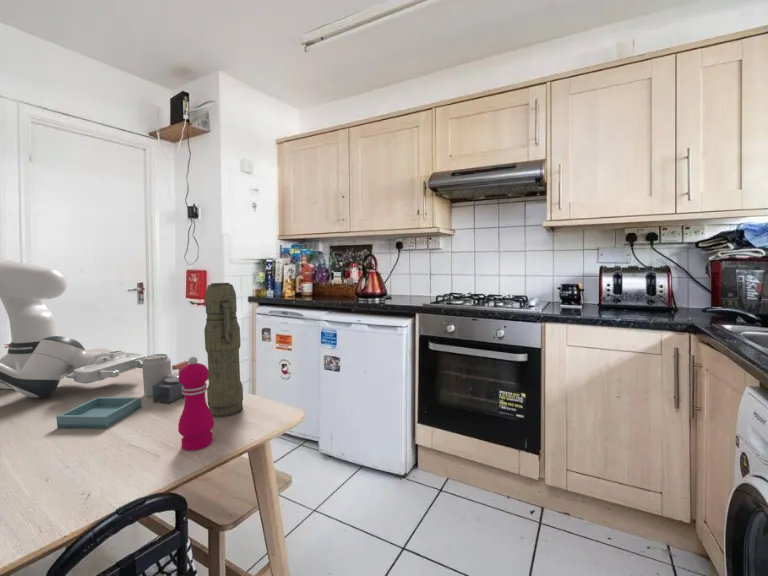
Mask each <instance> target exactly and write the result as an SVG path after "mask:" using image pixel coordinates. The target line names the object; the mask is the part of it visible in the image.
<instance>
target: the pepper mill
mask: <svg viewBox="0 0 768 576" xmlns="http://www.w3.org/2000/svg"><path fill="white" fill-rule="evenodd" d="M188 361H189V364H188V365H186V366H184V367H183V368H182V369H181V370H180V372H179V371H178V373H179V377H178V378H179V382H180V383H181V384H182V385H183V387H182V394H183V395H184V397H185V398H184V405H183V409H182V412H181V414H180V417H179V420H178V424H177V425H178V426H177V428H178V429H177V432H178V434H179V435H180V436H182V438H181V441H180V442H181V448H182V449H183V450H184V451H190V452H193V451H198V450H202V449H204V448H207V447H208V446H210V445H211V444H212V443H213V441H214V440H213V439H214V437H213V432H212V430H213V428H214V426H215V420H214V418H215V417H213V415H212V413H211V411H210V410H209V406H208V402H207V400H206V392H207V388H208V384H207V380H209V372H208V366H206V365H205V364H202V363H200V362H198V358H197V357H196V356H191V357H190V358H188Z"/></svg>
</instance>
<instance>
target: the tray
mask: <svg viewBox="0 0 768 576" xmlns="http://www.w3.org/2000/svg"><path fill="white" fill-rule="evenodd" d="M142 403H143V402H142V397H136V396H135V397H130V396H129V397H125V396H124V397H121V396H120V397H119V396H118V397H117V396H110V397H109V396H107V397H106V396H105V397H104V396H98V397H94V398H93V399H91V400H88V401H87V402H85V403H82V404H80V405H78V406H75V407H74V408H71V409H70V410H67V411H65V412H63V413H60V414H59V415H56V428H57V429H99V430H100V429H101V430H103V429H105V430H106V429H108V428H110V427H112V426H113V425H115V424H117V423H119V422H120V421H122V420H123V419H126V418H127V417H128V416H130V415H132V414H134V413H136V412H137V411H139V410H141V409H142V408H143V407H142V406H143V405H142Z"/></svg>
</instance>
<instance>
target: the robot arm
mask: <svg viewBox="0 0 768 576" xmlns="http://www.w3.org/2000/svg"><path fill="white" fill-rule="evenodd" d="M67 284H68V283H67V279H66V277H65V276H64V275H63V273H61V272H59V271H57V270H54V269H50V268H46V267H42V266H37V265H34V264H28V263H25V262H20V261H16V260H10V259H6V258H0V300H1V302H2V305H3V306H4V309H5V311H6V314H7V318H8V320H9V328H10V335H11V336H10V337H11V342H10V343H7V344H4V349H7V353H6V354H5V355H4V356H2V357H1V358H0V389H5V390H15V391H16V392H18V393H19V394H21V395H23V396H26V397H30V398H38V399H41V398H43V397H46V396H48V395H50V394H52V393H53V392H56V390H57V388H58V386H59V384H60V381H61V379H62V378H63V377H66V378H67V379H73V381H74V382H75V383H79V384H85V385H86V384H91V383H95V382H97V381H103V380H106V379H107V378H108V379H109V378H115V377H116V378H117V377H119V376H120V374H122V373H126V372H128V371H132V370H135V369H143V368H142V362H143V361H144V360H145V359H144V358H145V357H146V355H145V354H143V353H137V352H136V353H135V352H126V351H125V350H115V351H109V352H108V351H107V352H104V351H103V352H102V351H101V352H100V351H99V352H97V351H92V352H89V351H86V349H85V347H84V346H83V344H81V343H80V342H79V341H78V340H76V339H74V338H70V337H67V336H60V335H56V326H55V325H56V321H55V316H54V313H52V312H51V311H50V310H49V309H48V307H47V305H46V302H45V301H47V300H51V299H56V298H58V297H59V296H62V295H63V294H64V292H66V289H67Z"/></svg>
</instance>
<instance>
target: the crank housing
mask: <svg viewBox="0 0 768 576" xmlns="http://www.w3.org/2000/svg"><path fill="white" fill-rule="evenodd" d="M188 364H189V360H184V361H182V362H178V363H175V364H173V365H171V371H174V370H175V371H176V370H178V372H174V373H171V374H170V375H167V376H165V377H164V381H163V382H161V383H158V384H156V385H153V386H152V388H153V397H152V400H153V401H152V402H153V403H155V404H162V403H163V405H164V404H165V405H172V404H174V403H176V402H178V400H179V401H180V399H181V400H182V398H183V399H185V398H184V395H183V394H182V387H183V385H182V384H181V383H180V382H179V378H178V377H179V372H180V370H181V369H182V368H183V367H184V366H186V365H188ZM171 403H172V404H171Z"/></svg>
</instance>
